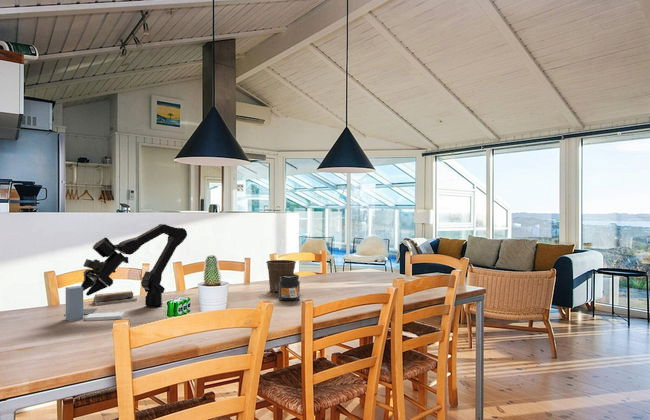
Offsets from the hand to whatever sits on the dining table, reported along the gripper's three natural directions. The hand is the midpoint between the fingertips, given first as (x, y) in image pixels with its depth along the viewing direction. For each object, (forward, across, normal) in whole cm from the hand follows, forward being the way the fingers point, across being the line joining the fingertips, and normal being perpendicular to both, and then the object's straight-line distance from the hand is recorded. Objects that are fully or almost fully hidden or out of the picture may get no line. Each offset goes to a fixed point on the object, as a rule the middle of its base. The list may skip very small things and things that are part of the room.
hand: (82, 293), depth 183 cm
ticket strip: (+2, +6, +12) cm, 13 cm away
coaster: (+5, -10, +9) cm, 15 cm away
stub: (+9, 0, +5) cm, 11 cm away
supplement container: (-52, +34, +66) cm, 91 cm away
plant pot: (-61, +14, +75) cm, 98 cm away
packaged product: (-8, -23, +23) cm, 34 cm away
